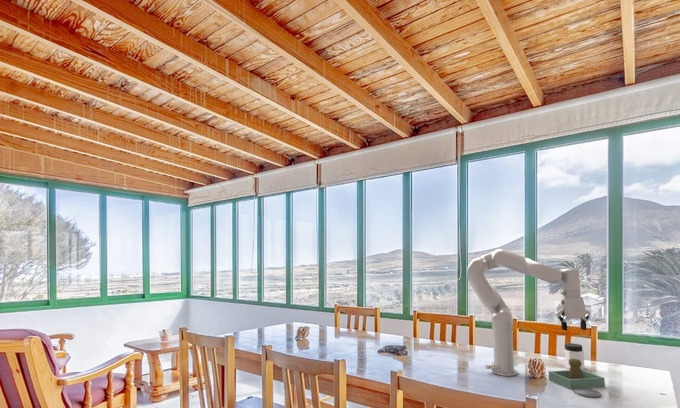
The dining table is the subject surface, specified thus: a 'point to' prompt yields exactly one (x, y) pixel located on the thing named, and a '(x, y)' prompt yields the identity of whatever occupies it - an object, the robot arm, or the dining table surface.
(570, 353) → the jar
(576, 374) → the cork
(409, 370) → the dining table surface
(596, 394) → the mat
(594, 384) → the green tray
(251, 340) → the dining table surface
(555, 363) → the dining table surface
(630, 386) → the dining table surface
